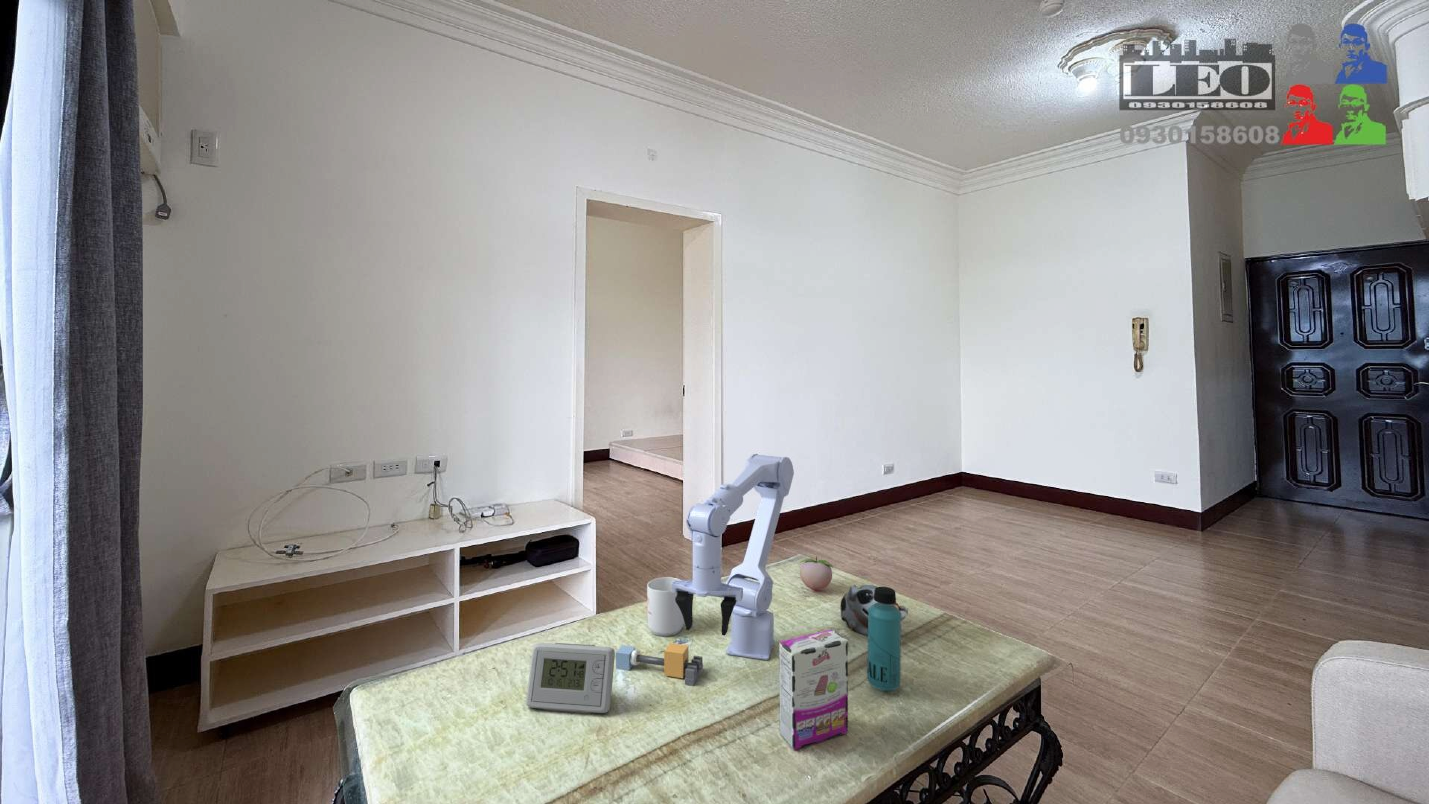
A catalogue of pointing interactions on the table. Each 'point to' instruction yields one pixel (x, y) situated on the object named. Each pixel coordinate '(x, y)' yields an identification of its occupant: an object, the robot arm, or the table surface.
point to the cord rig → (656, 662)
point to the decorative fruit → (816, 573)
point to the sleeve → (675, 660)
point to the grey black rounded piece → (861, 607)
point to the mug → (663, 608)
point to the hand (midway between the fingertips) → (706, 630)
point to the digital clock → (571, 677)
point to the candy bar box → (813, 688)
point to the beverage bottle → (884, 641)
